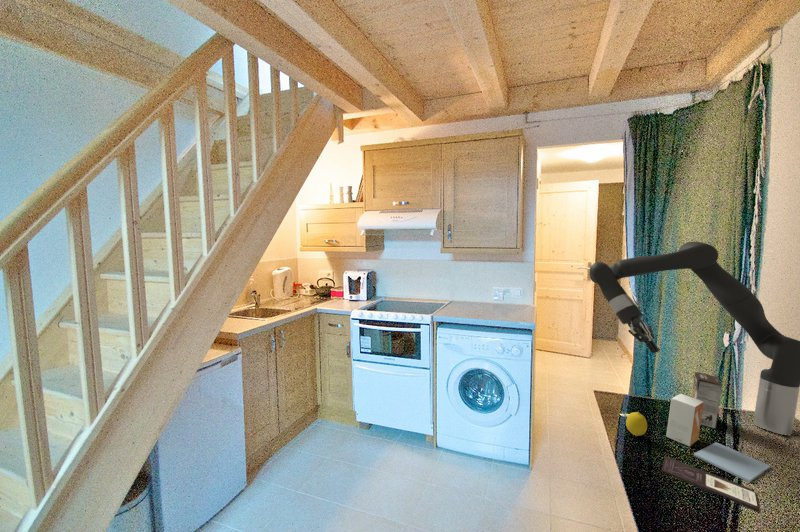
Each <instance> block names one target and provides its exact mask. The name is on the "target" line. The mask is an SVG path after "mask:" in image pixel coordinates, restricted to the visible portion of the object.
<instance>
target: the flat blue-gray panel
mask: <svg viewBox="0 0 800 532" xmlns="http://www.w3.org/2000/svg"><path fill="white" fill-rule="evenodd" d="M693 456H694V457H695V458H698V459H700V460H702V461H704V462H706V463H709V464H711V465H712V466H715V467H716V468H718V469H721V470H723V471H725V472H727V473H729V474H731V475H732V476H735V477H737V478H739V479H741V480H743V481H745V482H748V483H751V482H752V481H753V480H755V479H757V478H758V477H760V476H761V475H762V474H763V473H765V472H766V471H768V470H769V469H770V468H771V465H770V464H767V463H765V462H762V461H760V460H759V459H756V458H753V457H752V456H748V455H747V454H744V453H742V452H739V451H737V450H736V449H733V448H731V447H729V446H726V445H724V444H722V443H719V442H717V441H715V442H713V443H712V444H711V443H710V445H708V446H706V447H704V448H702V449H700V450H698V451H695V452H694V453H693ZM768 468H769V469H768ZM767 469H768V470H767ZM765 470H766V471H765ZM764 471H765V472H764Z"/></svg>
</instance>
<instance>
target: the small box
mask: <svg viewBox="0 0 800 532" xmlns="http://www.w3.org/2000/svg"><path fill="white" fill-rule="evenodd" d="M703 404H704V402H703V401H700V400H697V399H695V398H692V396H689V395H686V394H683V393H679V394H677V395H675V396H673V397H671V399H670V406H669V413H668V420H667V428H666V433H665V434H666V435H665V437H667V438H668V439H671V440H673V441H675V442H678V443H680V444H682V445H685V446H687V447H691V446H693V445H694V444H695V443H696V442H697V441H699V436H700V431H701V429H700V428H701V417H702V411H703Z"/></svg>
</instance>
